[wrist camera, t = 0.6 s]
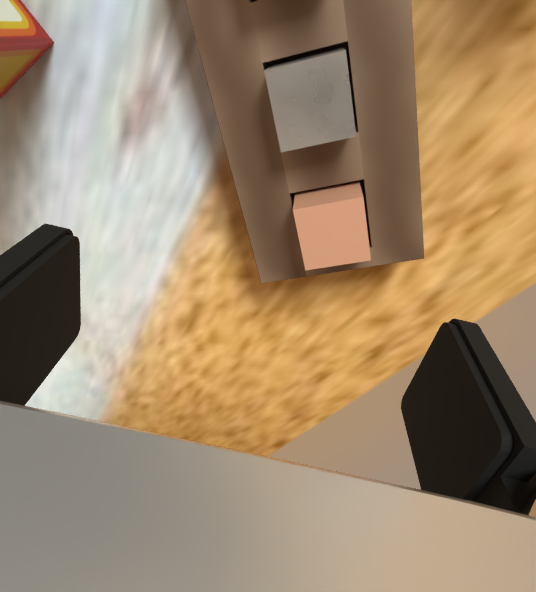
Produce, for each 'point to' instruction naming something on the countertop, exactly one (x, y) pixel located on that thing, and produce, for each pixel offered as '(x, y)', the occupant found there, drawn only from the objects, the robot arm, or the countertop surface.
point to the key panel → (324, 157)
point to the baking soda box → (18, 42)
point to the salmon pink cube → (332, 225)
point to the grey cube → (311, 100)
